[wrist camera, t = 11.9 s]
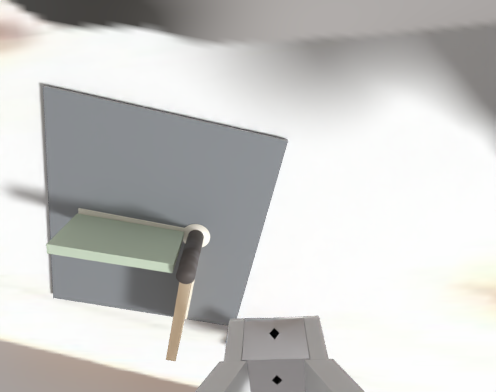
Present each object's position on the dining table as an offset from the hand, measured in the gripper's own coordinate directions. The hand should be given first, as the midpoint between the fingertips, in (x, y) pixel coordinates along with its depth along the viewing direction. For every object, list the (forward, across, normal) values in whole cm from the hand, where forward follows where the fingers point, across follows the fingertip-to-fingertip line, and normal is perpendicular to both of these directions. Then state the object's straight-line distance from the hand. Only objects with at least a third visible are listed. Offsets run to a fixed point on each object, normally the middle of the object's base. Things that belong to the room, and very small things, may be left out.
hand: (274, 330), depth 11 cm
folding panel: (+25, +17, +10) cm, 32 cm away
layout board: (+26, +14, +11) cm, 32 cm away
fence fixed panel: (+26, +12, +19) cm, 34 cm away
